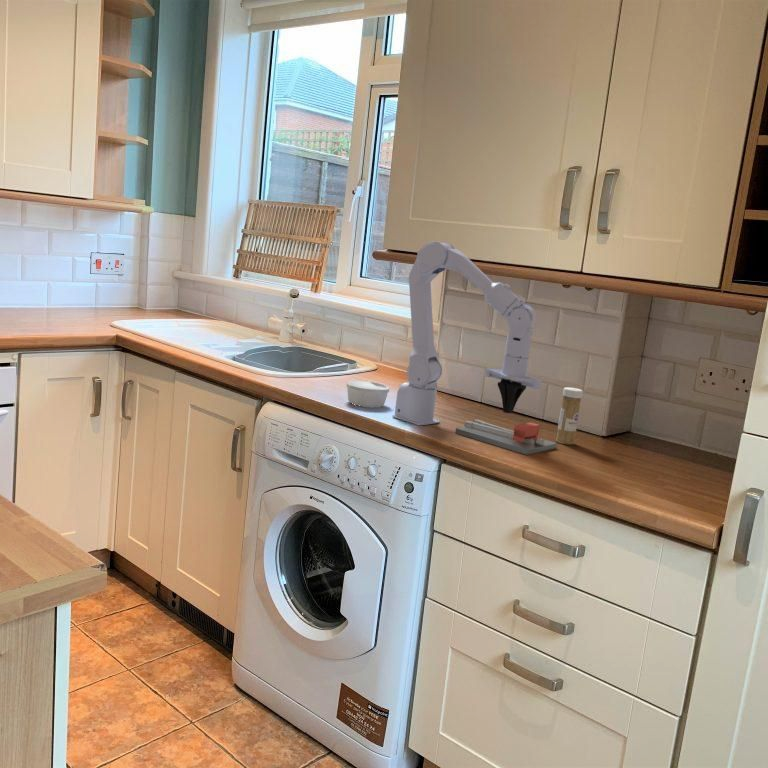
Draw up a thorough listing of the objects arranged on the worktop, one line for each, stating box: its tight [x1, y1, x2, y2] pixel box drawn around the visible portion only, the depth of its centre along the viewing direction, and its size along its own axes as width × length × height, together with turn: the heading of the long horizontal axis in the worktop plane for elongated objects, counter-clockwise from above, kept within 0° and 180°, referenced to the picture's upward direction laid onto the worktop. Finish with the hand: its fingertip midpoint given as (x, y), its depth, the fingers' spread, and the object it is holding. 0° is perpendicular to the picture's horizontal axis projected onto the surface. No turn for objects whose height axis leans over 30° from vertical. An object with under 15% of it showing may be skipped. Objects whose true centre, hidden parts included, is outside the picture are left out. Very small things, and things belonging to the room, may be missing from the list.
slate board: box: [455, 426, 558, 456], centre depth 191 cm, size 20×13×1 cm, turn 48°
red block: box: [513, 422, 540, 443], centre depth 187 cm, size 2×7×4 cm, turn 138°
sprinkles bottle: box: [555, 386, 584, 445], centre depth 195 cm, size 5×5×13 cm
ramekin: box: [346, 380, 390, 408], centre depth 214 cm, size 11×11×5 cm
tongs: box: [463, 419, 545, 447], centre depth 191 cm, size 21×5×1 cm, turn 48°
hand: (507, 412), depth 192 cm, fingers closed
